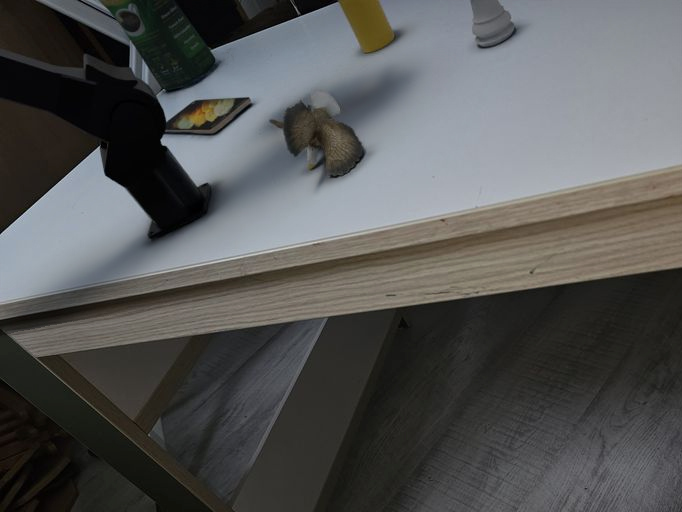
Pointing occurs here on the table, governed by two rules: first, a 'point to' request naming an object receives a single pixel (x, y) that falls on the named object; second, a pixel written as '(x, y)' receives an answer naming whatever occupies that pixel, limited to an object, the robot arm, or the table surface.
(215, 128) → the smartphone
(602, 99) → the table surface
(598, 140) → the table surface
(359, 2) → the yellow cylindrical tube
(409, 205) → the table surface
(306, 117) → the eagle figurine
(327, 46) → the table surface
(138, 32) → the coffee jar
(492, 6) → the rook chess piece
